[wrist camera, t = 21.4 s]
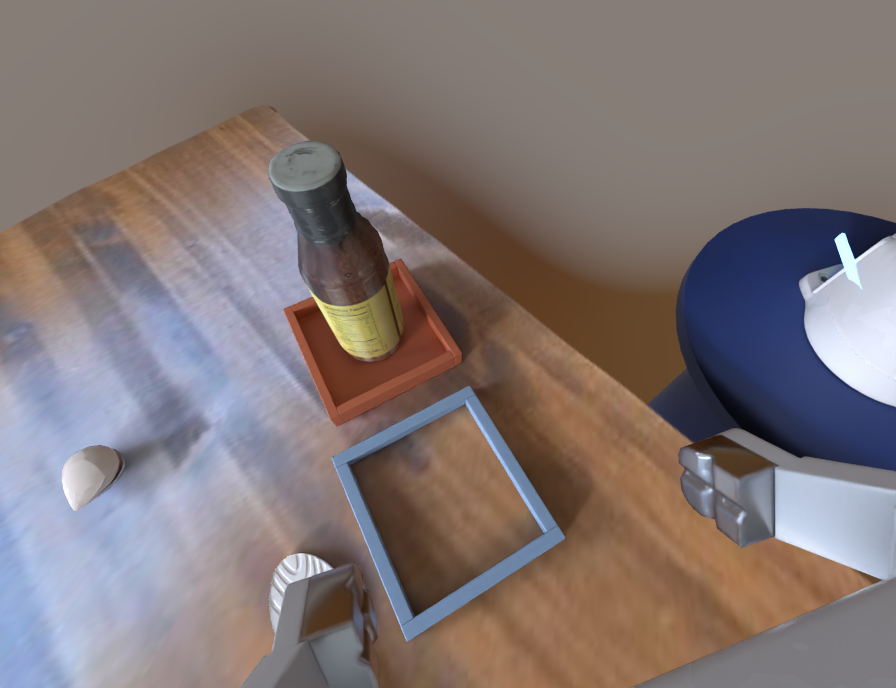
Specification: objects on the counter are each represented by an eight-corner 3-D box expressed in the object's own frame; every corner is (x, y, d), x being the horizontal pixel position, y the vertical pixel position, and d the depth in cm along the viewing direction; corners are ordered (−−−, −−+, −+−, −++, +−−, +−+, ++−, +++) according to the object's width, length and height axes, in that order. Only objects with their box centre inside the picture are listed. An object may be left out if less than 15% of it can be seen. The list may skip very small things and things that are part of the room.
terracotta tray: (403, 270, 45) (401, 258, 43) (462, 362, 39) (462, 352, 37) (290, 320, 42) (282, 309, 40) (336, 426, 36) (330, 419, 35)
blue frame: (469, 390, 38) (469, 384, 37) (562, 539, 32) (566, 538, 31) (334, 460, 35) (330, 457, 34) (408, 639, 29) (406, 642, 28)
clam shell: (139, 451, 36) (118, 443, 34) (113, 514, 33) (89, 510, 31) (90, 449, 36) (66, 441, 34) (61, 511, 33) (33, 507, 31)
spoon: (387, 878, 23) (386, 884, 23) (253, 583, 31) (250, 583, 30) (463, 799, 25) (463, 803, 24) (318, 534, 32) (316, 534, 32)
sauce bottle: (361, 301, 42) (293, 109, 25) (417, 322, 41) (386, 135, 23) (326, 354, 39) (223, 179, 22) (385, 379, 38) (324, 212, 21)
